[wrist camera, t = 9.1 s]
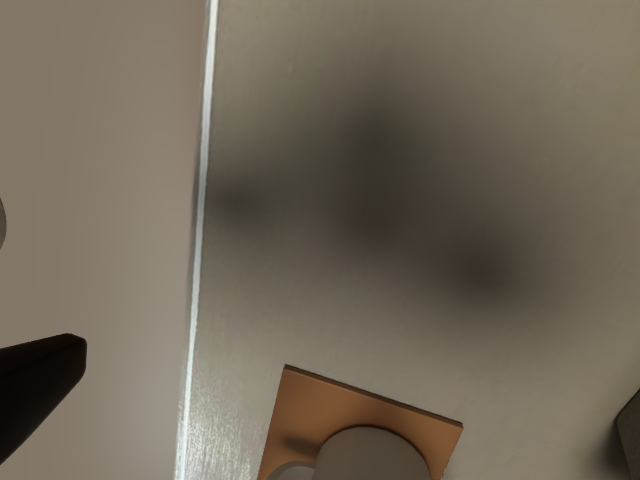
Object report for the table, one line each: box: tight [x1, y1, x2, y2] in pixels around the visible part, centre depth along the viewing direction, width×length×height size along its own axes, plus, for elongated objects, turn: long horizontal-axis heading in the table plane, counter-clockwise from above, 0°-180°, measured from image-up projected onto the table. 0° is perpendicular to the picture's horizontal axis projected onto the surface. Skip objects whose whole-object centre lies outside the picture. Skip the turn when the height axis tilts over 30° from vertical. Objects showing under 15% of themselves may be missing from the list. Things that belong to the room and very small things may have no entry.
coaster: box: [257, 365, 463, 480], centre depth 23 cm, size 11×11×1 cm
